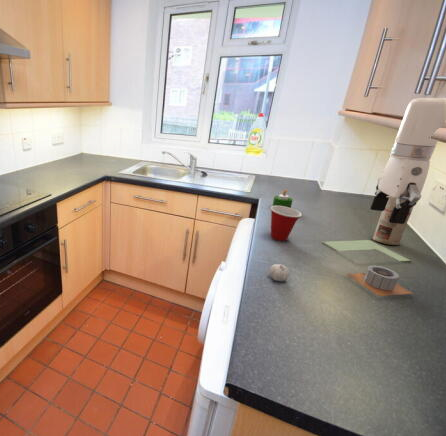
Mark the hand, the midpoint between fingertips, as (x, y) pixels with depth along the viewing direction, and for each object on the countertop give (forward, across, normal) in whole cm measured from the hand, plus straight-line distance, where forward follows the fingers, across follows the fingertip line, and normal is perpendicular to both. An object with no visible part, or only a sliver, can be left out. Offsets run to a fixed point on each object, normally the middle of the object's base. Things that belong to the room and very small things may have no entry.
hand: (385, 216), depth 79 cm
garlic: (+23, -4, +22) cm, 32 cm away
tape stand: (+22, +2, -6) cm, 23 cm away
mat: (+22, +26, -12) cm, 36 cm away
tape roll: (+21, +2, -6) cm, 22 cm away
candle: (+22, +68, +8) cm, 72 cm away
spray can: (+22, +39, -24) cm, 51 cm away
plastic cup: (+23, +29, +16) cm, 40 cm away
